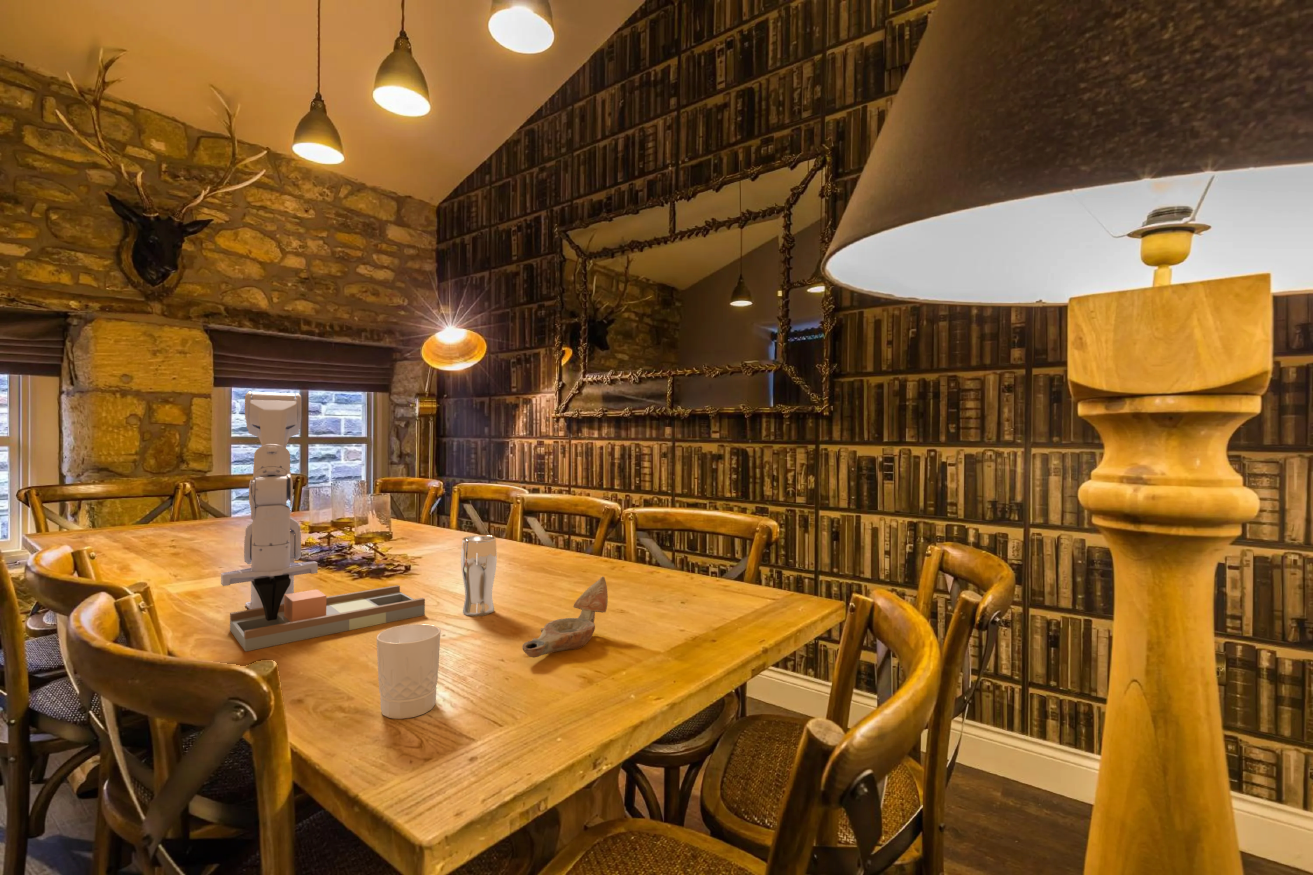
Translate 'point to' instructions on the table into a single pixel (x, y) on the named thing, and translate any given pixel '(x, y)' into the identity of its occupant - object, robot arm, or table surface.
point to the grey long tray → (325, 618)
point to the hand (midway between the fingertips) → (271, 618)
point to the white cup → (408, 669)
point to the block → (304, 605)
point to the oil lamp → (571, 624)
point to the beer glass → (478, 573)
